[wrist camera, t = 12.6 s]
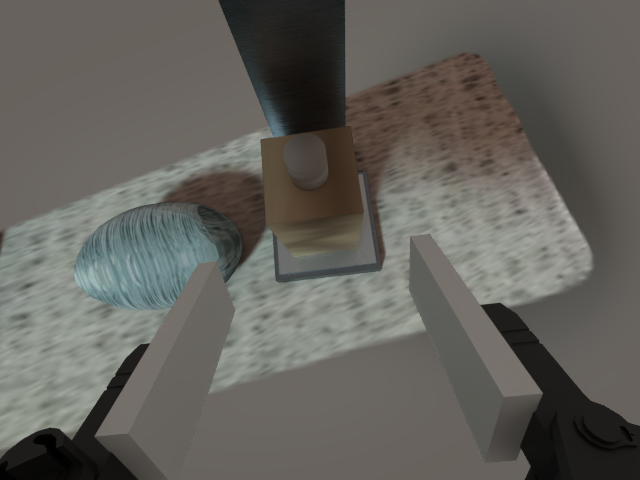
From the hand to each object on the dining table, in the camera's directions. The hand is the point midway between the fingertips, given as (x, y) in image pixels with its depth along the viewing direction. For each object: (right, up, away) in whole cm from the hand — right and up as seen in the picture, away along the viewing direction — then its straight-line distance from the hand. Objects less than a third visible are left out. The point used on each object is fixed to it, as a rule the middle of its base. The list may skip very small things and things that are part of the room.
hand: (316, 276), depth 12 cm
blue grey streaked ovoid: (-14, -1, +18) cm, 23 cm away
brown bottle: (0, +3, +16) cm, 16 cm away
